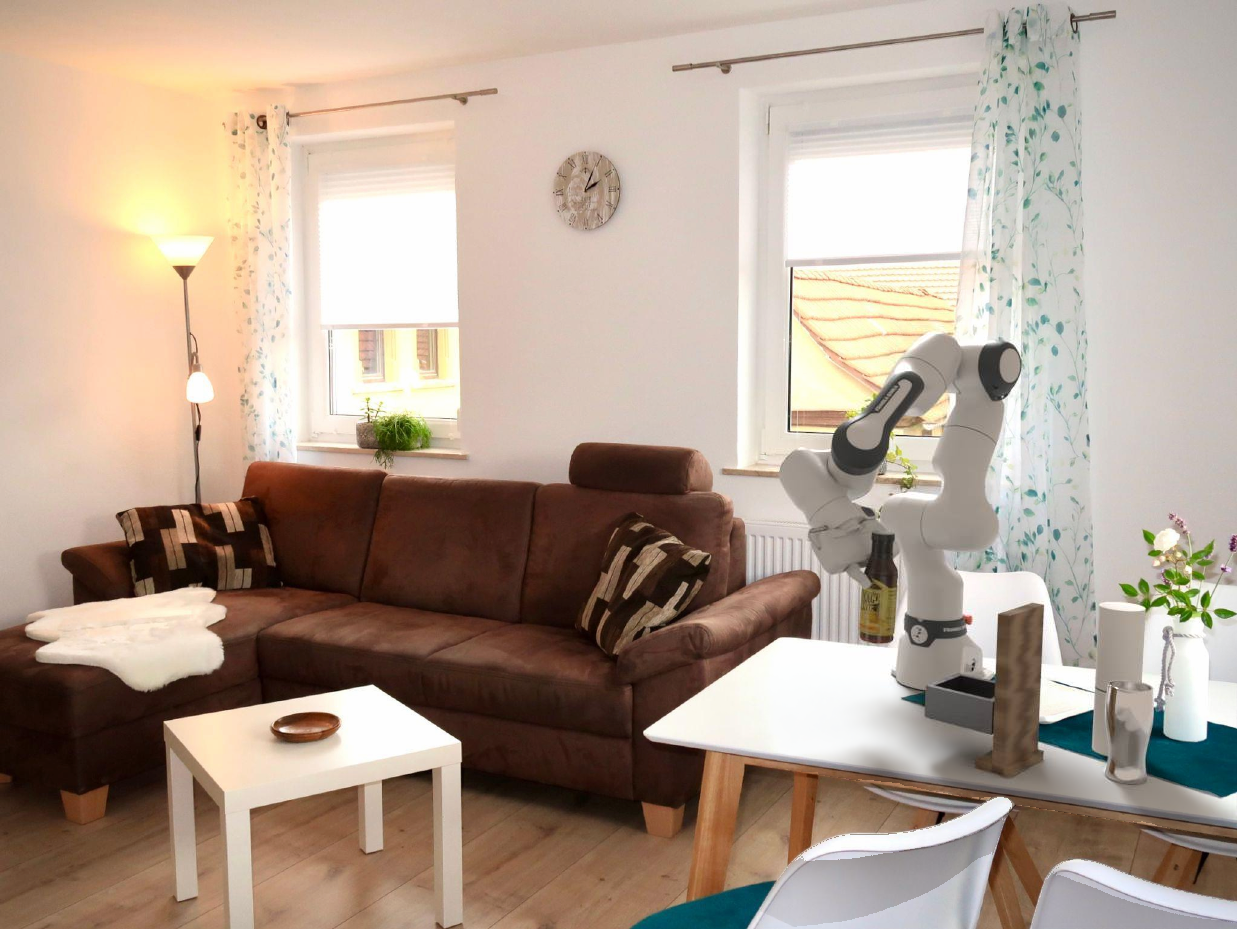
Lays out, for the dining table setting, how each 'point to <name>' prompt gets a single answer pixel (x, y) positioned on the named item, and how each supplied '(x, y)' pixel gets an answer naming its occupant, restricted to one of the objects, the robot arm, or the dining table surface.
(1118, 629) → the cylindrical container
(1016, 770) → the wall board
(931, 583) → the robot arm
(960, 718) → the open rectangular box
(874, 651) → the dining table surface
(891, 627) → the sauce bottle
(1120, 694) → the beer glass
